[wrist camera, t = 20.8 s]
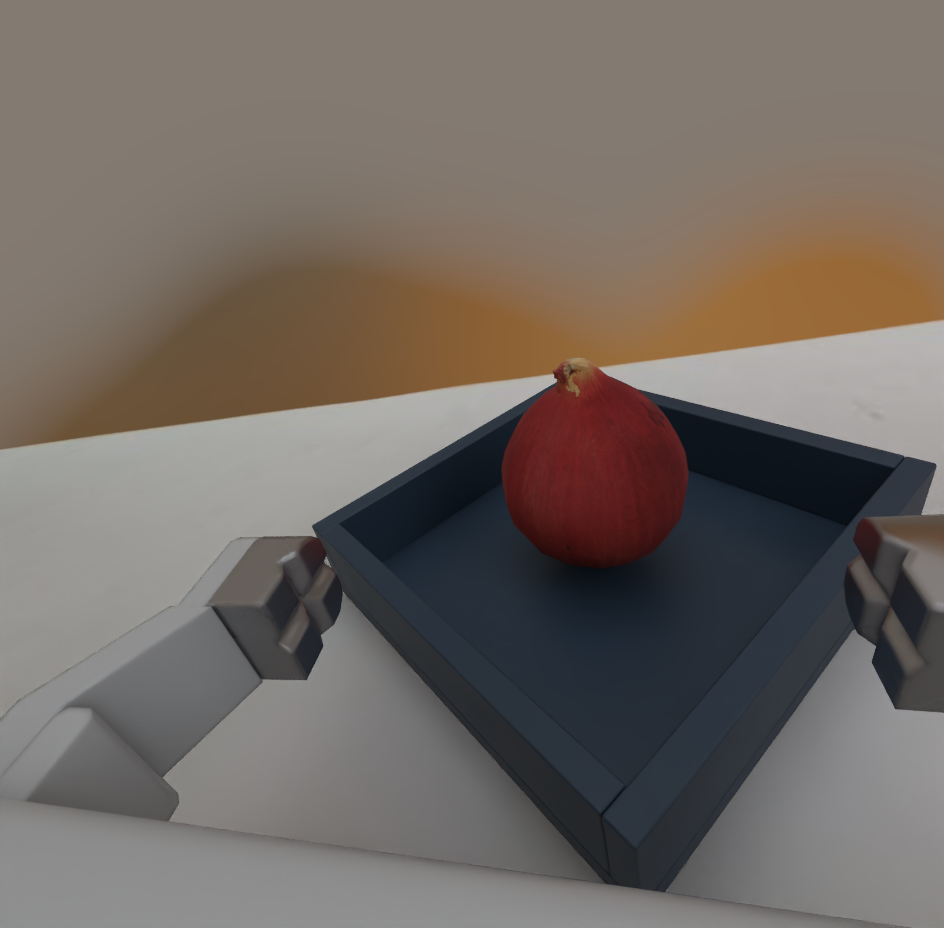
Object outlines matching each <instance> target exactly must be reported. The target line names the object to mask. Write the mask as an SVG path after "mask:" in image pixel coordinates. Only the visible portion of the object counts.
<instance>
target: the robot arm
mask: <svg viewBox="0 0 944 928" xmlns="http://www.w3.org/2000/svg"><path fill="white" fill-rule="evenodd" d="M853 541H854V543H855V545H856V547H857V548H858V550H859V552H860V555H859V556H858V557H856V558H855V559H854V560H852V561H851V562H850V563H849V564H847V568H846V573H845V579H844V591H845V602H846V606H847V609H848V612H849V616H850V618H851V620H852V623H853V625H854V627H855V629H856V631H857V633H858V634H859V635H861V636H862V637H864V638H865V639H867V640H868V641H869V642H871V643H872V644H874V645H875V646H876V649H875V653H874V656H873V659H872V664H873V666H874V668H875V670H876V672H877V674H878V676H879V678H880V680H881V682H882V684H883V686H884V688H885V690H886V692H887V694H888V696H889V698H890V699H891V701H892V703H893V705H894V707H895V709H901V710H914V711H928V712H942V713H944V514H937V515H912V516H887V517H863V518H862V519H861V521H860V522H859V523H858V525H857V526H856V530H855V534H854V538H853ZM326 555H327V552H326V550H325V548H324V546H323V545H322V543H321V541H320V539H318V538H315V537H312V536H285V537H240V538H238V539H235V540H233V541H231V542H230V543H229V544H228V545H227V546H226V548H225V549H224V550H223V551H222V552H221V554H220V555H219V556H218V557H217V559H216V560H215V561H214V562H213V563H212V565H211V566H210V567H209V568H208V569H207V571H206V572H205V573H204V574H203V576H202V577H201V578H200V579H199V580H198V582H197V583H196V584H195V585H194V586H193V588H192V589H191V590H190V591H189V592H188V594H187V595H186V596H185V597H184V599H183V600H182V601H181V602H180V603H179V605H178V606H169V607H168V608H166V609H165V610H163V611H161V612H160V613H158V614H156V615H155V616H153V617H152V618H150V619H148V620H147V621H145V622H144V623H142V624H140V625H139V626H137V627H136V628H134V629H132V630H131V631H129V632H127V633H126V634H124V635H123V636H121V637H119V638H118V639H116V640H115V641H113V642H111V643H110V644H108V645H106V646H105V647H103V648H102V649H100V650H98V651H97V652H95V653H94V654H92V655H90V656H89V657H87V658H86V659H84V660H82V661H81V662H79V663H77V664H76V665H74V666H73V667H71V668H69V669H68V670H66V671H65V672H63V673H61V674H60V675H58V676H56V677H55V678H53V679H52V680H50V681H48V682H47V683H45V684H44V685H42V686H40V687H39V688H37V689H35V690H34V691H32V692H31V693H29V694H27V695H26V696H24V697H23V698H21V699H19V700H18V701H17V702H16V703H15V704H14V705H13V706H12V707H11V708H10V709H9V710H8V711H7V713H6V714H5V715H4V716H3V717H2V718H1V719H0V928H910V927H903V926H896V925H889V924H882V923H875V922H868V921H861V920H854V919H847V918H840V917H833V916H826V915H819V914H812V913H805V912H798V911H791V910H784V909H777V908H770V907H763V906H756V905H749V904H742V903H735V902H728V901H721V900H714V899H707V898H700V897H693V896H686V895H679V894H672V893H665V892H658V891H651V890H644V889H637V888H630V887H623V886H616V885H609V884H602V883H595V882H589V881H582V880H575V879H568V878H561V877H554V876H547V875H540V874H533V873H526V872H519V871H512V870H505V869H498V868H491V867H484V866H477V865H470V864H463V863H456V862H449V861H442V860H435V859H428V858H421V857H414V856H407V855H400V854H393V853H386V852H379V851H372V850H365V849H358V848H351V847H344V846H337V845H330V844H323V843H316V842H309V841H302V840H295V839H288V838H281V837H274V836H267V835H260V834H253V833H245V832H238V831H231V830H224V829H217V828H210V827H203V826H196V825H189V824H182V823H175V822H168V821H169V820H170V818H171V816H172V814H173V813H174V811H175V809H176V808H177V806H178V804H179V797H178V793H177V792H176V791H175V790H174V789H173V788H172V787H171V786H170V785H169V784H168V783H167V782H166V781H165V780H164V779H163V778H162V777H163V776H164V775H165V774H166V773H167V772H168V771H169V770H170V769H172V768H173V767H174V766H175V765H176V764H177V763H178V762H179V761H180V760H181V759H182V758H183V757H184V756H185V755H186V754H187V753H188V752H189V751H190V750H192V749H193V748H194V747H195V746H196V745H197V744H198V743H199V742H200V741H201V740H202V739H203V738H204V737H205V736H206V735H207V734H208V733H209V732H210V731H212V730H213V729H214V728H215V727H216V726H217V725H218V724H219V723H220V722H221V721H222V720H223V719H224V718H225V717H226V716H227V715H228V714H229V713H230V712H232V711H233V710H234V709H235V708H236V707H237V706H238V705H239V704H240V703H241V702H242V701H243V700H244V699H245V698H246V697H247V696H248V695H249V694H250V693H251V692H253V691H254V690H255V689H256V688H257V687H258V686H259V685H260V684H261V683H262V680H261V679H270V680H307V678H308V676H309V674H310V672H311V670H312V668H313V666H314V664H315V662H316V660H317V658H318V656H319V654H320V652H321V650H322V648H323V643H322V638H321V634H323V633H324V632H325V631H326V630H328V629H329V628H330V627H331V626H333V625H334V623H335V621H336V619H337V617H338V615H339V612H340V609H341V602H342V595H343V593H342V587H341V582H340V579H339V577H338V575H337V573H336V571H335V570H333V569H332V568H331V567H329V566H328V565H327V564H325V563H324V560H325V557H326Z"/></svg>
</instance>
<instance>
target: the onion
mask: <svg viewBox="0 0 944 928" xmlns="http://www.w3.org/2000/svg"><path fill="white" fill-rule="evenodd" d="M553 374H554V378H556V379H557V386H555V387H553V388H552V389H550V390H549V391H547V392H545V393H544V394H543V395H542V396H541V397H540V398H539V399H538V400H537V401H536V402H535V403H534V404H533V405H532V406H530V408H529V409H528V410H527V411H526V412H525V414H524V415H523V416H522V418H521V420H520V421H519V423H518V425H517V427H516V429H515V431H514V433H513V435H512V436H511V438H510V441H509V443H508V446H507V448H506V450H505V453H504V458H503V463H502V468H501V471H502V481H503V489H504V494H505V499H506V503H507V507H508V510H509V513H510V515H511V518H512V521H513V524H514V526H515V527H516V528H518V529H519V530H520V531H521V532H522V533H523V534H524V535H525V536H526V537H527V538H528V539H529V540H530V541H531V542H532V544H533V545H534V546H535V547H536V548H537V549H538V550H539V551H540V552H541V553H542V554H544V555H547V556H549V557H552V558H554V559H557V560H559V561H562V562H564V563H567V564H570V565H573V566H583V567H591V568H594V569H604V568H609V567H616V566H622V565H627V564H629V563H631V562H633V561H636V560H638V559H640V558H642V557H645V556H647V555H649V554H651V553H653V552H654V550H655V549H656V548H657V547H658V546H659V545H660V544H661V543H662V542H663V541H664V540H665V538H666V537H667V536H668V535H669V534H670V532H671V531H672V530H673V528H674V527H675V525H676V524H677V523H678V521H679V520H680V519H681V515H682V510H683V506H684V501H685V496H686V489H687V482H688V475H689V472H688V466H687V459H686V452H685V450H684V448H683V446H682V443H681V441H680V439H679V437H678V435H677V433H676V432H675V430H674V428H673V427H672V425H671V424H670V422H669V420H668V419H667V417H666V416H665V415H664V413H663V412H662V411H661V410H660V408H659V407H658V406H657V405H656V404H655V403H654V402H653V401H652V400H651V399H649V398H648V397H647V396H646V395H644V394H643V393H642V392H640V391H639V390H638V389H636V388H634V387H632V386H630V385H627V384H625V383H623V382H621V381H619V380H617V379H614V378H612V377H609V376H607V375H606V374H604V373H603V372H602V371H601V370H600V369H599V368H597V367H596V366H595V365H594V364H592V363H591V362H589V361H588V360H586V359H584V358H582V357H580V358H569V359H568V360H566V361H565V362H563V363H562V364H561V365H560V366H559V367H558V368H557V369H555V370H553Z"/></svg>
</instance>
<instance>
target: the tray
mask: <svg viewBox="0 0 944 928" xmlns="http://www.w3.org/2000/svg"><path fill="white" fill-rule="evenodd" d="M555 386H557V382H556V383H554V384H553V385H551V386H549V387H548V388H546V389H544V390H543V391H541V392H539V393H537V394H536V395H534V396H532V397H531V398H529V399H527V400H525V401H524V402H522V403H520V404H519V405H517V406H515V407H514V408H512V409H510V410H508V411H507V412H505V413H503V414H502V415H500V416H498V417H496V418H495V419H493V420H491V421H490V422H488V423H486V424H485V425H483V426H481V427H479V428H478V429H476V430H474V431H473V432H471V433H469V434H467V435H466V436H464V437H462V438H461V439H459V440H457V441H456V442H454V443H452V444H450V445H449V446H447V447H445V448H444V449H442V450H440V451H438V452H437V453H435V454H433V455H432V456H430V457H428V458H427V459H425V460H423V461H421V462H420V463H418V464H416V465H415V466H413V467H411V468H409V469H408V470H406V471H404V472H403V473H401V474H399V475H398V476H396V477H394V478H392V479H391V480H389V481H387V482H386V483H384V484H382V485H380V486H379V487H377V488H375V489H374V490H372V491H370V492H369V493H367V494H365V495H363V496H362V497H360V498H358V499H357V500H355V501H353V502H351V503H350V504H348V505H346V506H345V507H343V508H341V509H340V510H338V511H336V512H334V513H333V514H331V515H329V516H328V517H326V518H324V519H323V520H321V521H319V522H317V523H316V524H314V525H313V526H312V527H313V530H314V532H315V534H316V536H317V538H318V539H320V541H321V543H322V545H323V546H324V548H325V550H326V552H327V555H326V557H327V559H328V561H329V563H330V565H331V567H332V569H333V570H335V571H336V573H337V575H338V577H339V579H340V582H341V587H342V590H343V592H344V593H345V594H346V595H347V596H348V597H349V598H350V599H351V600H352V602H353V603H354V604H355V605H356V606H357V607H358V608H359V609H360V610H361V612H362V613H363V614H364V615H365V616H366V617H367V618H368V619H369V620H370V622H371V623H372V624H373V625H374V626H375V627H376V628H377V629H378V630H379V632H380V633H381V634H382V635H383V636H384V637H385V638H386V639H387V640H388V642H389V643H390V644H391V645H392V646H393V647H394V648H395V649H396V650H397V652H398V653H399V654H400V655H401V656H402V657H403V658H404V659H405V660H406V662H407V663H408V664H409V665H410V666H411V667H412V668H413V669H414V670H415V671H416V673H417V674H418V675H419V676H420V677H421V678H422V679H423V680H424V681H425V683H426V684H427V685H428V686H429V687H430V688H431V689H432V690H433V691H434V693H435V694H436V695H437V696H438V697H439V698H440V699H441V700H442V701H443V703H444V704H445V705H446V706H447V707H448V708H449V709H450V710H451V711H452V713H453V714H454V715H455V716H456V717H457V718H458V719H459V720H460V721H461V723H462V724H463V725H464V726H465V727H466V728H467V729H468V730H469V731H470V733H471V734H472V735H473V736H474V737H475V738H476V739H477V740H478V741H479V743H480V744H481V745H482V746H483V747H484V748H485V749H486V750H487V751H488V752H489V754H490V755H491V756H492V757H493V758H494V759H495V760H496V761H497V762H498V764H499V765H500V766H501V767H502V768H503V769H504V770H505V771H506V772H507V774H508V775H509V776H510V777H511V778H512V779H513V780H514V781H515V782H516V784H517V785H518V786H519V787H520V788H521V789H522V790H523V791H524V792H525V794H526V795H527V796H528V797H529V798H530V799H531V800H532V801H533V802H534V804H535V805H536V806H537V807H538V808H539V809H540V810H541V811H542V812H543V814H544V815H545V816H546V817H547V818H548V819H549V820H550V821H551V822H552V824H553V825H554V826H555V827H556V828H557V829H558V830H559V831H560V832H561V833H562V835H563V836H564V837H565V838H566V839H567V840H568V841H569V842H570V843H571V845H572V846H573V847H574V848H575V849H576V850H577V851H578V852H579V853H580V855H581V856H582V857H583V858H584V859H585V860H586V861H587V862H588V863H589V865H590V866H591V867H592V868H593V869H594V870H595V871H596V872H597V873H598V875H599V876H600V877H601V878H602V879H603V880H604V881H605V882H606V883H607V884H609V885H616V886H623V887H630V888H637V889H644V890H651V891H658V892H665V891H666V889H667V888H668V886H669V885H670V884H671V882H672V881H673V879H674V878H675V877H676V875H677V874H678V872H679V871H680V870H681V868H682V867H683V865H684V864H685V863H686V861H687V860H688V859H689V857H690V856H691V854H692V853H693V852H694V850H695V849H696V847H697V846H698V845H699V843H700V842H701V840H702V839H703V838H704V836H705V835H706V833H707V832H708V831H709V829H710V828H711V827H712V825H713V824H714V822H715V821H716V820H717V818H718V817H719V815H720V814H721V813H722V811H723V810H724V808H725V807H726V806H727V804H728V803H729V801H730V800H731V799H732V797H733V796H734V794H735V793H736V792H737V790H738V789H739V788H740V786H741V785H742V783H743V782H744V781H745V779H746V778H747V776H748V775H749V774H750V772H751V771H752V769H753V768H754V767H755V765H756V764H757V762H758V761H759V760H760V758H761V757H762V755H763V754H764V753H765V751H766V750H767V749H768V747H769V746H770V744H771V743H772V742H773V740H774V739H775V737H776V736H777V735H778V733H779V732H780V730H781V729H782V728H783V726H784V725H785V723H786V722H787V721H788V719H789V718H790V716H791V715H792V714H793V712H794V711H795V710H796V708H797V707H798V705H799V704H800V703H801V701H802V700H803V698H804V697H805V696H806V694H807V693H808V691H809V690H810V689H811V687H812V686H813V684H814V683H815V682H816V680H817V679H818V677H819V676H820V675H821V673H822V672H823V671H824V669H825V668H826V666H827V665H828V664H829V662H830V661H831V659H832V658H833V657H834V655H835V654H836V652H837V651H838V650H839V648H840V647H841V645H842V644H843V643H844V641H845V640H846V638H847V637H848V636H849V634H850V633H851V632H852V630H853V629H854V625H853V623H852V620H851V618H850V616H849V612H848V609H847V606H846V602H845V591H844V579H845V573H846V568H847V564H849V563H850V562H851V561H852V560H854V559H855V558H856V557H858V556H859V555H860V552H859V550H858V548H857V547H856V545H855V543H854V541H853V538H854V534H855V530H856V526H857V525H858V523H859V522H860V521H861V519H862V518H863V517H887V516H912V515H921V513H922V510H923V507H924V504H925V501H926V498H927V495H928V491H929V488H930V485H931V482H932V479H933V476H934V473H935V470H936V467H937V466H936V464H935V463H931V462H927V461H923V460H919V459H915V458H911V457H905V458H904V456H903V455H899V454H895V453H891V452H887V451H883V450H879V449H875V448H871V447H867V446H863V445H859V444H855V443H851V442H847V441H843V440H839V439H835V438H831V437H827V436H823V435H819V434H815V433H811V432H807V431H803V430H799V429H795V428H791V427H787V426H783V425H779V424H775V423H771V422H767V421H763V420H759V419H755V418H751V417H747V416H743V415H739V414H735V413H731V412H726V411H722V410H718V409H714V408H710V407H706V406H702V405H698V404H694V403H690V402H686V401H682V400H678V399H674V398H670V397H666V396H662V395H658V394H654V393H650V392H646V391H642V390H639V391H640V392H642V393H643V394H644V395H646V396H647V397H648V398H649V399H651V400H652V401H653V402H654V403H655V404H656V405H657V406H658V407H659V408H660V410H661V411H662V412H663V413H664V415H665V416H666V417H667V419H668V420H669V422H670V424H671V425H672V427H673V428H674V430H675V432H676V433H677V435H678V437H679V439H680V441H681V443H682V446H683V448H684V450H685V452H686V459H687V466H688V472H689V475H688V482H687V489H686V496H685V501H684V506H683V510H682V515H681V519H680V520H679V521H678V523H677V524H676V525H675V527H674V528H673V530H672V531H671V532H670V534H669V535H668V536H667V537H666V538H665V540H664V541H663V542H662V543H661V544H660V545H659V546H658V547H657V548H656V549H655V550H654V552H653V553H651V554H649V555H647V556H645V557H642V558H640V559H638V560H636V561H633V562H631V563H629V564H627V565H622V566H616V567H609V568H604V569H594V568H591V567H583V566H573V565H570V564H567V563H564V562H562V561H559V560H557V559H554V558H552V557H549V556H547V555H544V554H542V553H541V552H540V551H539V550H538V549H537V548H536V547H535V546H534V545H533V544H532V542H531V541H530V540H529V539H528V538H527V537H526V536H525V535H524V534H523V533H522V532H521V531H520V530H519V529H518V528H516V527H515V526H514V524H513V521H512V518H511V515H510V513H509V510H508V507H507V503H506V499H505V494H504V489H503V481H502V471H501V468H502V463H503V458H504V453H505V450H506V448H507V446H508V443H509V441H510V438H511V436H512V435H513V433H514V431H515V429H516V427H517V425H518V423H519V421H520V420H521V418H522V416H523V415H524V414H525V412H526V411H527V410H528V409H529V408H530V406H532V405H533V404H534V403H535V402H536V401H537V400H538V399H539V398H540V397H541V396H542V395H543V394H544V393H545V392H547V391H549V390H550V389H552V388H553V387H555Z"/></svg>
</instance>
